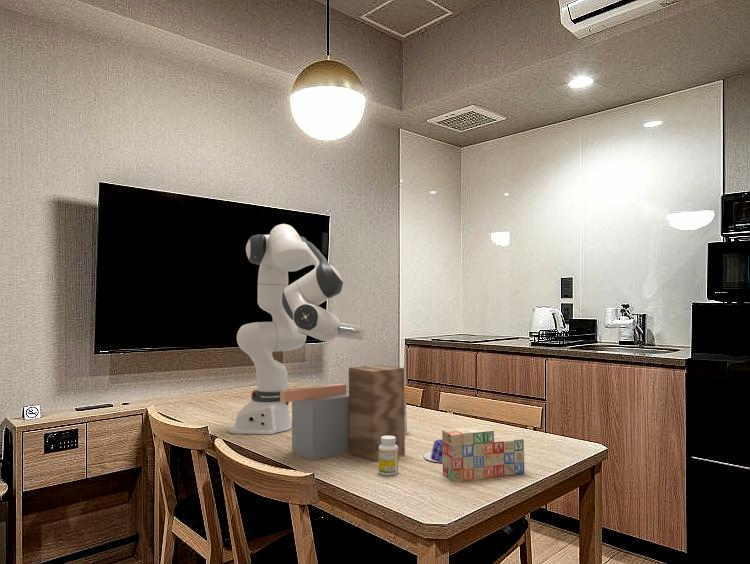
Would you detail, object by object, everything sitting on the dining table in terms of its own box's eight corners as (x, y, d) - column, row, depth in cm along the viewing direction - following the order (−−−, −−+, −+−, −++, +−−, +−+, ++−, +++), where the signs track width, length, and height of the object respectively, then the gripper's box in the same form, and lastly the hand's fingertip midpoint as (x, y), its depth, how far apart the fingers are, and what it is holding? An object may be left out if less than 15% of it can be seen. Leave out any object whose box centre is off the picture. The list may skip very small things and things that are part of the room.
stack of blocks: (512, 467, 158) (511, 423, 158) (525, 474, 152) (524, 427, 152) (442, 475, 151) (441, 428, 152) (452, 482, 145) (451, 434, 146)
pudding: (466, 465, 161) (466, 446, 161) (424, 464, 161) (424, 446, 162) (462, 453, 173) (462, 436, 173) (423, 453, 173) (423, 436, 174)
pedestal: (312, 459, 166) (312, 401, 167) (292, 451, 176) (291, 396, 176) (361, 449, 177) (361, 394, 178) (339, 442, 187) (339, 390, 187)
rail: (285, 402, 166) (285, 392, 166) (280, 400, 168) (280, 390, 169) (346, 394, 180) (346, 384, 180) (340, 392, 182) (340, 383, 182)
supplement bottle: (390, 477, 149) (389, 440, 150) (374, 473, 153) (374, 437, 153) (402, 472, 154) (402, 436, 154) (387, 468, 157) (386, 433, 157)
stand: (373, 461, 164) (372, 371, 164) (349, 453, 173) (348, 367, 174) (404, 454, 171) (403, 368, 172) (379, 446, 181) (379, 364, 181)
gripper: (359, 320, 168) (371, 327, 181) (296, 311, 174) (312, 319, 187) (355, 341, 167) (368, 347, 180) (292, 332, 173) (308, 338, 186)
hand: (339, 333), depth 183 cm, fingers open, 8 cm apart
